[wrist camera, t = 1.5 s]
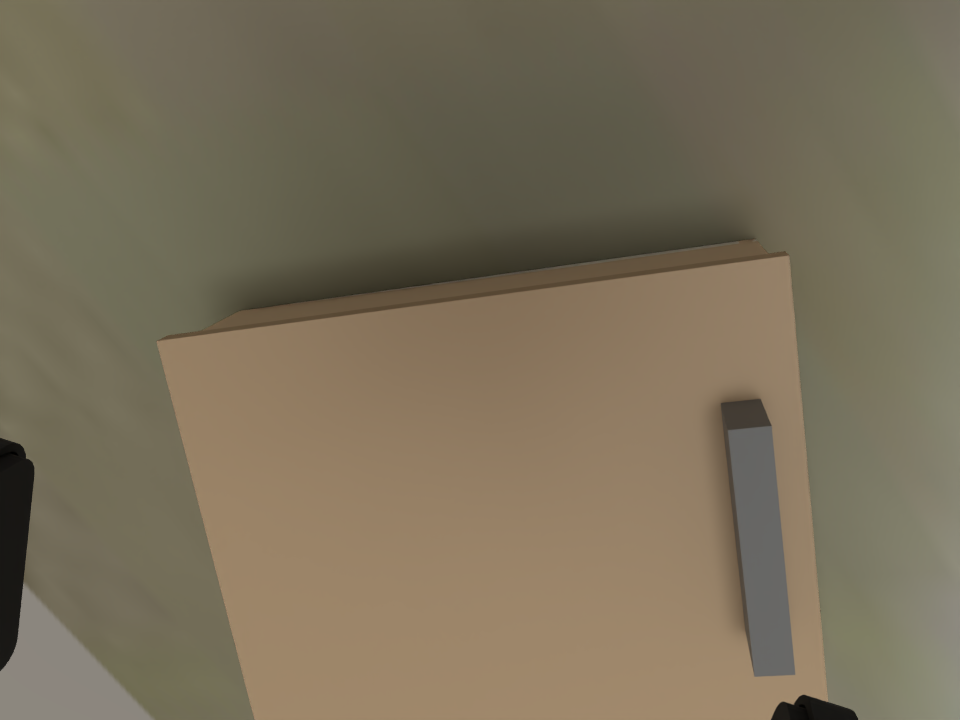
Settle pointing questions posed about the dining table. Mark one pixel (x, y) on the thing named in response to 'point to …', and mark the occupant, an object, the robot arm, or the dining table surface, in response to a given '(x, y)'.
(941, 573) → the dining table surface
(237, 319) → the lidded box
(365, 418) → the lid
